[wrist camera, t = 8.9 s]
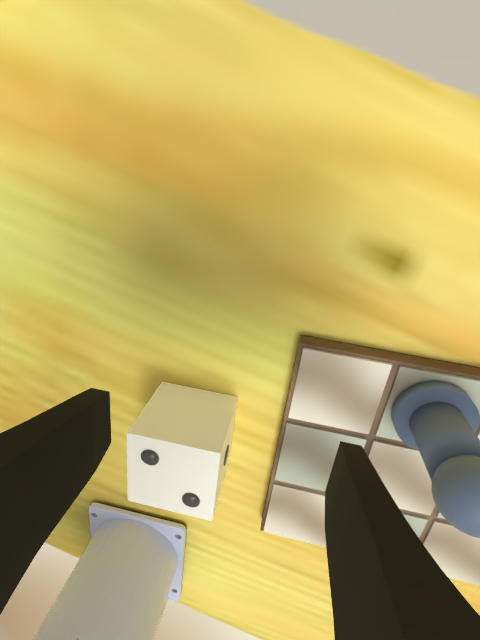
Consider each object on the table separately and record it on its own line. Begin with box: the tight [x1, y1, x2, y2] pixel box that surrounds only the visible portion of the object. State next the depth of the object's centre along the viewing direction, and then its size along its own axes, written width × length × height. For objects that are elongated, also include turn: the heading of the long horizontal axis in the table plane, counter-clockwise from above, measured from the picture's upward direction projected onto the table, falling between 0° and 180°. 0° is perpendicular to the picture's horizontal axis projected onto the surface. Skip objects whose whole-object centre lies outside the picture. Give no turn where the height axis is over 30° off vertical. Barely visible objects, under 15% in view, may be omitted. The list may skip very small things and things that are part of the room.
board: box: [261, 335, 480, 585], centre depth 21 cm, size 15×15×1 cm
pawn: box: [391, 381, 480, 538], centre depth 16 cm, size 4×4×7 cm
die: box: [127, 382, 238, 521], centre depth 21 cm, size 5×5×5 cm
